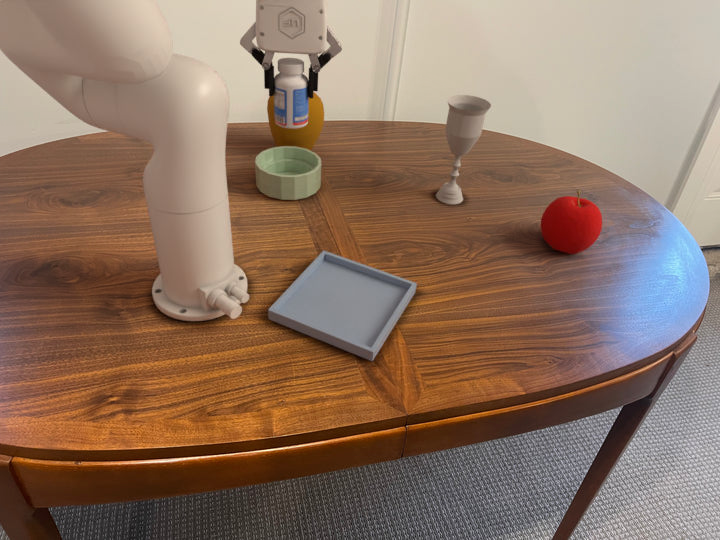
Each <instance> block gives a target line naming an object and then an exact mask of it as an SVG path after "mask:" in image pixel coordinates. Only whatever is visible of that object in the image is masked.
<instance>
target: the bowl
mask: <svg viewBox="0 0 720 540" xmlns="http://www.w3.org/2000/svg"><path fill="white" fill-rule="evenodd" d="M254 170H255V186H256V188H257V189H258V190H259V192H260V193H261V194H263V195H265V196H267V197H269V198H273V199H277V200H281V201H297V200H302V199H307V198H310V197H311V196H313V195H316V194H317V192H318V191H319V190H320V189H321V185H322V159H321V157H320V156H319V155H318V154H317V153H316V152H314V151H312V150H311V151H310V150H308V149H305V148H300V147H295V146H280V147H276V146H274V147H270V148H267V149H265V150H261V152H259V153H258V154H257V155H256V156H255V160H254Z"/></svg>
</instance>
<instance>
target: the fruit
mask: <svg viewBox="0 0 720 540" xmlns="http://www.w3.org/2000/svg"><path fill="white" fill-rule="evenodd" d="M580 194H581V190H577V191H576V196H571V195H565V196H560V197H557V198H555V199H553V201H551V202H550V203H549V205H548V206H547V207H546V208H545V209H544V211H543V213H542V215H541V218H540V232H541V236H542V238H543V240H544V241H545V243H546V244H548V245H549V246H550V247H551V248H552V249H553V250H555V251H557V252H561V253H564V254H565V253H566V254H569V255H576V254H579V253H582V252H584V251H586V250H588V249H589V248H590V247H591V246H593V245H594V244H595V243H596V241H597V240H598V239H599V237H600V235H601V232H602V228H603V216H602V212H601V210H600V208H599V207H598V206H597V204H595V203H594V202H592V200H589V199H586V198H584V197H583V198H582V197H580Z"/></svg>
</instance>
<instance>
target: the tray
mask: <svg viewBox="0 0 720 540" xmlns="http://www.w3.org/2000/svg"><path fill="white" fill-rule="evenodd" d="M417 285H418V283H417V282H414V281H412V280H409V279H407V278H403V277H401V276H397V275H395V274H392V273H390V272H386V271H384V270H381V269H379V268H375V267H372V266H370V265H368V264H367V265H366V264H363V263H360V262H359V261H355V260H352V259H349V258H347V257H344V256H340V255H338V254H336V253H333V252H329V251H327V250H322V251H321V252H320V254H319V255H317V257H316V258H315V259H314V260H313V261H312V262H311V263H310V264H309V265H308V266H307V267H306V268H305V270H304V271H302V273H301V274H299V276H298V277H297V278H296V279H295V280H294V281H293V283H291V284H290V286H289V287H287V289H286V290H284V292H283V293H282V294H281V295H280V296H279V297H278V298H277V300H276V301H274V302H273V304H272V305H271V306H270V307H269V308H268V309H267V319H268V320H270V321H272V322H275V323H277V324H279V325H281V326H284V327H286V328H290V329H292V330H294V331H296V332H299V333H300V334H301V333H302V334H304V335H307V336H309V337H311V338H314V339H316V340H319V341H321V342H323V343H326V344H328V345H331V346H333V347H336V348H338V349H340V350H342V351H345V352H348V353H351V354H353V355H356V356H358V357H360V358H362V359H364V360H365V359H366V360H367V361H369V362H373V361H374V360H375V358H376V357H377V355H378V353H379V352H380V350H381V348H382V347H383V345H384V343H385V342H386V340H387V339H388V337H389V335H390V334H391V332H392V331H393V329H394V327H395V326H396V324H397V323H398V322H399V319H400V318H401V316H402V314H403V313H404V311H405V310H406V308H407V306H408V305H409V303H410V302H411V300H412V298H413V297H414V295H415V294H416V292H417V291H416V290H417Z"/></svg>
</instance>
